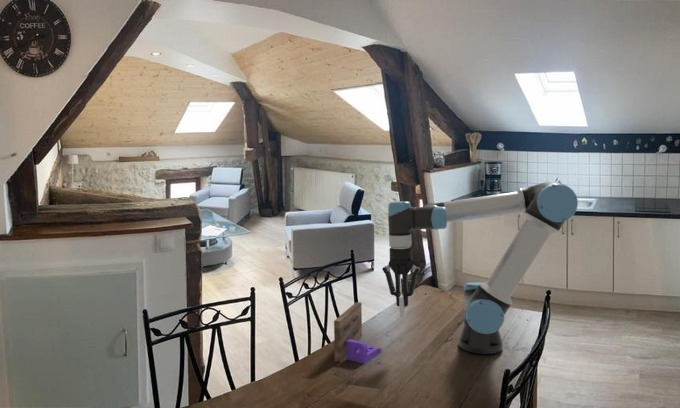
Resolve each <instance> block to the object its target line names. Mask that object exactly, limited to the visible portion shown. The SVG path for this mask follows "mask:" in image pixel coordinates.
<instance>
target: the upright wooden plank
mask: <svg viewBox="0 0 680 408" xmlns="http://www.w3.org/2000/svg"><path fill="white" fill-rule="evenodd" d="M362 315H363V314H362V302H357V301H356V302H354V304H352V305H351V306H350V307H349V308H348V309H346V310H345V311H344V312H342V314H340V315H339V316H338V317H337V318H335V319H334V320H333V324H334V325H333V333H334V338H333V339H334V341H333V342H334V343H333V344H334V362H335V363H341V362H342V361H343V360H344V359H346V358H347V340H349V339H352V340H357V341H360V339H361V337H362V336H363V328H362V327H363V325H362V324H363V321H362V320H363V318H362Z"/></svg>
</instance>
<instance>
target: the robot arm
mask: <svg viewBox="0 0 680 408" xmlns="http://www.w3.org/2000/svg"><path fill="white" fill-rule="evenodd" d="M578 203H579V202H578V197H577V194H576V193H575V191H574V190H573V189H572V188H571V187H569V186H568V185H566V184H564V183H562V182H555V181H554V182H553V181H545V182H543V183H542V182H541V183H537V184H535V185H531V186H526V187H520V188H518V189H517V190H516V191H513V192H512V191H511V192H506V193H505V192H504V193H497V194H492V195H490V194H489V195H483V196H477V197H469V198H464V199H455V200H449V201H444V202H443V201H441V202H434V203H433V202H430V203H426V204H424V205H423V206H417V207H416V206H414V207H413V206H412V205H411V202H410V201H407V200H406V201H391V202H389V203H388V210H387V212H388V213H387V214H388V215H387V220H388V241H389V243H388V244H389V247H390V248H388V249H389V250H388V251H389V262H388V264H387V265H385V266H383V267H382V269H381V270H382V271H383V273H384V274H385V278H386V282H387V286H388V289H389V292H390V295H391V296H394V297H395V299H396V300H395V301H396V304H395V305H396V307H398V308H399V309H398V310H399V317H401V318H402V317H403V318H405V316H406V315H407V314H406V313H407V312H406V308H407V307H408V306H409V297H411V296H413V294H414V293H415V287H416V282H417V277H418V274H419V273H420V272H421V271H420V270H421V267H419V266H416V265H415V264H414V260H413V250H412V247H411V246H412V243H413V241H412V230H435V231H436V230H444V229H447V227H448V223H455V222H462V221H472V220H479V219H486V218H494V217H501V216H508V215H509V216H510V215H516V214H517V215H518V214H521V215H522V216H525V221H524V222H523V224H521V226H520V228H519V230H518V231H517V233H516V235H515V236H514V237H513V239H512V241H511V243H509V246H508V247H507V249H506V250H505V252H504V254H503V255H502V257H501V258H500V260H499V261H498V264H497V265H496V267H495V268H494V270H493V271H492V273H491V274H490V276H489V278H488V280H487V281H485V282H466V283H465V284H463V325H462V328H461V331H460V335H459V338H458V346H459V347H460V349H462V350H463V351H466V352H469V353H473V354H474V353H475V354H482V355H491V354H496V353H500V352H501V351H502V350H503V348H504V346H503V345H504V343H503V339H502V337H501V333H500V329H501V327H503V325H504V322H505V315H506V313H507V312H508V310H509V309H510V307H511V306H512V304H513V301H512V295H513V293H514V291H516V289H517V287H518V285H519V284H520V282H521V281H522V279H523V278H524V277H525V275H526V273H527V272H528V270H529V269H530V267H531V265H532V264H533V262H534V261H535V259H536V258H537V256H538V255H539V253H540V251H541V250H542V248H543V247H544V245H545V244H546V242H547V240H548V239H549V237H550V235H551V234H554V233H558V232H559V231H560V230H561V229H562V227H563V225H564V223H565V222H566V221H569V219H571V218H572V217H573V216H574V215H575V213H576V212H577V210H578V206H579V204H578ZM391 270H392V272H393V273H394V278H395V279H394V280H393V276H392V273H391ZM410 271H412V275H411V280H410V285H409V278H408V277H409V273H410ZM401 277H402V283H401ZM394 281H395V282H394ZM401 284H402V285H401ZM401 286H402V288H401ZM401 289H402V290H401ZM402 292H403V293H402Z"/></svg>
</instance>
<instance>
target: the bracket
mask: <svg viewBox="0 0 680 408" xmlns="http://www.w3.org/2000/svg"><path fill="white" fill-rule="evenodd" d="M381 353H382V348H380V347H375V346H370V345H367V343H366V342H365V341H361V340H359V341H357V340H352V339H349V340H347V356H346V360H347V361H351V362H356V363H360V364H366V363H367V362H369V361H371V360H372V359H373V358H375V357H377V356H378V355H380V354H381Z"/></svg>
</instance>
